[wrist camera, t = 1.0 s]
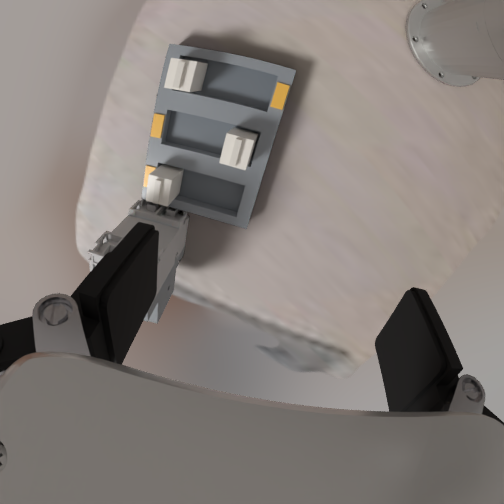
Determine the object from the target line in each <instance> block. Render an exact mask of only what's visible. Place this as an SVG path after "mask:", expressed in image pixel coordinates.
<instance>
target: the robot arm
mask: <svg viewBox="0 0 504 504" xmlns="http://www.w3.org/2000/svg"><path fill="white" fill-rule="evenodd" d="M422 6H423V7H424V8H423V7H422ZM406 35H407V40H408V43H409V46H410V49H411V51H412V53H413V55H414V57H415V58H416V60H417V61H418V63H419V64H420V65H421V66H422V68H423V69H424V70H425V71H426V72H427V73H429V74H430V75H431V76H432V77H434V78H435V79H437V80H438V81H440V82H442V83H445V84H447V85H451V86H459V87H461V86H468V85H471V84H473V83H475V82H476V81H478V80H479V79H480V77H484V78H492V79H500V80H504V0H422V1H420V2H418V3H417V4H416V5H414V6H413V7H412V9H411V10H410V12H409V14H408V17H407V20H406ZM412 38H414V41H413V39H412ZM439 74H440V76H439ZM158 245H159V231H158V230H155V226H154V225H151V224H147V223H142V222H138V223H137V224H136V225H135V226H134V227H133V228H132V229H131V230H130V231H129V232H128V234H127V235H126V236H125V237H124V238H123V239H122V240H121V241H120V243H119V244H118V245H117V246H116V247H115V248H114V249H113V251H112V252H108V253H107V254H105V256H104V257H103V258H102V259H101V260H100V261H99V262H98V264H97V265H96V266H95V267H94V268H93V270H92V271H91V272H90V273H89V274H88V276H87V277H86V278H85V279H84V280H83V282H82V283H81V284H80V285H79V287H78V288H77V289H76V290H75V291H74V293H73V294H72V295H71V297H70V296H68V295H66V294H60V293H59V294H51V295H48V296H45V297H44V298H42V299H40V300H39V302H37V303H36V305H35V307H34V309H33V315H32V317H28V318H24V319H21V320H17V321H13V322H9V323H6V324H2V325H0V504H504V423H503V422H502V421H501V420H500V419H499V418H498V417H497V416H496V415H494V414H493V413H492V412H491V411H490V410H489V409H487V408H486V407H485V406H484V402H485V392H484V389H483V387H482V385H481V384H480V382H479V381H478V380H477V379H476V378H475V377H473V376H471V375H468V374H466V375H463V376H461V377H460V378H459V377H458V374H459V373H460V371H462V369H463V367H462V365H461V362H460V360H459V358H458V355H457V353H456V351H455V348H454V346H453V344H452V342H451V339H450V337H449V335H448V333H447V331H446V329H445V327H444V325H443V322H442V320H441V318H440V316H439V314H438V313H437V310H436V308H435V306H434V305H433V303H432V301H431V299H430V297H429V295H428V293H427V291H426V290H423V289H419V288H414V287H413V288H411V289H410V290H407V291H406V292H405V294H404V296H403V297H402V299H401V301H400V302H399V304H398V305H397V307H396V309H395V310H394V312H393V313H392V315H391V317H390V318H389V320H388V321H387V323H386V324H385V326H384V327H383V329H382V330H381V332H380V333H379V335H378V336H377V338H376V341H375V348H376V352H377V355H378V360H379V364H380V369H381V373H382V377H383V382H384V386H385V392H386V397H387V402H388V406H389V412H381V411H360V410H344V409H332V408H322V407H313V406H304V405H296V404H289V403H282V402H276V401H269V400H263V399H258V398H252V397H246V396H241V395H236V394H231V393H226V392H222V391H217V390H212V389H208V388H204V387H199V386H196V385H192V384H188V383H184V382H180V381H176V380H172V379H169V378H165V377H161V376H158V375H154V374H151V373H147V372H144V371H140V370H137V369H134V368H131V367H127V366H124V365H122V363H123V360H124V358H125V356H126V354H127V352H128V350H129V348H130V346H131V344H132V342H133V340H134V338H135V336H136V334H137V332H138V330H139V328H140V326H141V324H142V322H143V320H144V318H145V316H146V314H147V312H148V310H149V309H150V307H151V305H152V303H153V301H154V299H155V296H156V292H157V266H158Z"/></svg>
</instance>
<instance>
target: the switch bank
mask: <svg viewBox="0 0 504 504" xmlns="http://www.w3.org/2000/svg"><path fill="white" fill-rule="evenodd" d="M171 58H177V59H184V60H190V61H197V62H202V63H207V64H208V67H207V71H206V74H205V78H204V82H203V86H202V90H201V91H194V92H186V91H181V90H175V89H169V88H164V85H165V81H166V76H167V72H168V68H169V64H170V60H171ZM295 73H296V70H294V69H290V68H287V67H283V66H280V65H276V64H273V63H269V62H265V61H261V60H257V59H253V58H249V57H245V56H240V55H235V54H231V53H226V52H220V51H215V50H209V49H203V48H197V47H190V46H183V45H175V44H169V48H168V51H167V55H166V59H165V63H164V67H163V72H162V76H161V80H160V85H159V90H158V94H157V99H156V104H155V109H154V115H153V120H152V126H151V132H150V138H149V144H148V151H147V158H146V165H145V173H144V181H143V189H142V199H144V200H146V193H147V184H148V176H149V174H150V173H151V172H153V171H154V170H155V169H157V168H158V167H159V166H161V165H162V164H166V165H170V166H174V167H178V168H182V169H184V171H183V177H182V182H181V188H180V193H179V194H178V195H177V197H176V198H175V199H174V200H173V201H172V202H171V203H170V204H169V207H172V208H176V209H179V210H183V211H186V212H190V213H193V214H197V215H200V216H204V217H207V218H211V219H214V220H217V221H221V222H224V223H228V224H231V225H234V226H238V227H241V228H244V229H247V226H248V223H249V220H250V216H251V213H252V210H253V206H254V203H255V200H256V197H257V193H258V190H259V187H260V184H261V180H262V177H263V174H264V171H265V168H266V164H267V161H268V158H269V155H270V152H271V148H272V145H273V142H274V139H275V136H276V132H277V129H278V126H279V123H280V120H281V117H282V113H283V110H284V107H285V104H286V101H287V98H288V95H289V91H290V88H291V85H292V82H293V79H294V76H295ZM233 127H236V128H240V129H243V130H247V131H251V132H254V133H258V136H257V140H256V143H255V147H254V150H253V153H252V157H251V160H250V162H249V164H248V166H247V168H246V170H242V169H239V168H235V167H232V166H228V165H224V164H221V163H219V161H220V157H221V153H222V149H223V145H224V141H225V137H226V134H227V132H229V131H230V130H231V129H232V128H233Z"/></svg>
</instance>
